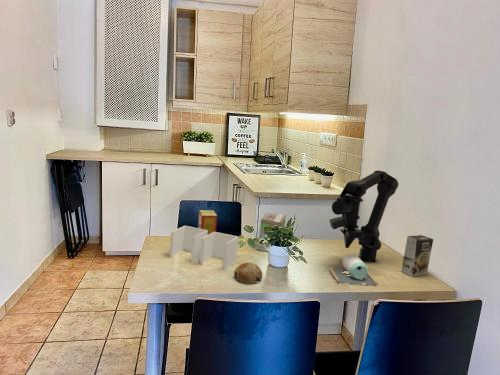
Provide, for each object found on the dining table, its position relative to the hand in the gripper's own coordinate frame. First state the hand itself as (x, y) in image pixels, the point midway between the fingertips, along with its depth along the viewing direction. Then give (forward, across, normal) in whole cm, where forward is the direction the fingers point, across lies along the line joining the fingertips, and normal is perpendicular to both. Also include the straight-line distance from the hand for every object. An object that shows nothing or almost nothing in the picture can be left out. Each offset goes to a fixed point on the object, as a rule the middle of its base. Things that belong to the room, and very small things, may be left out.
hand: (346, 247), depth 172 cm
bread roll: (+8, +20, -43) cm, 48 cm away
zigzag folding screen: (+8, +2, -60) cm, 61 cm away
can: (+4, +4, +1) cm, 6 cm away
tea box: (+8, -19, -30) cm, 37 cm away
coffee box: (+9, +3, +30) cm, 31 cm away
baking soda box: (+8, -14, -60) cm, 62 cm away
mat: (+8, +12, 0) cm, 15 cm away
